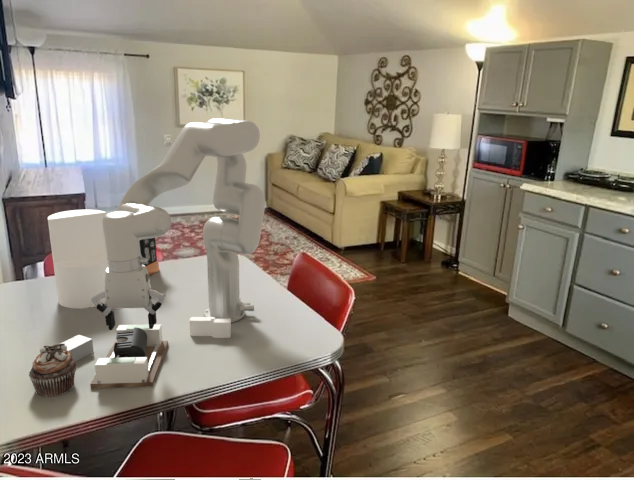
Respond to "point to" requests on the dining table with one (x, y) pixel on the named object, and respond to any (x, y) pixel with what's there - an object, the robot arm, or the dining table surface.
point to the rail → (149, 361)
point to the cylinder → (78, 256)
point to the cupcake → (53, 371)
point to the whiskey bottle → (149, 255)
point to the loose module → (79, 346)
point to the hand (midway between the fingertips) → (132, 327)
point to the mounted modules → (128, 359)
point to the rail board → (152, 372)
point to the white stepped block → (210, 327)
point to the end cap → (131, 344)
